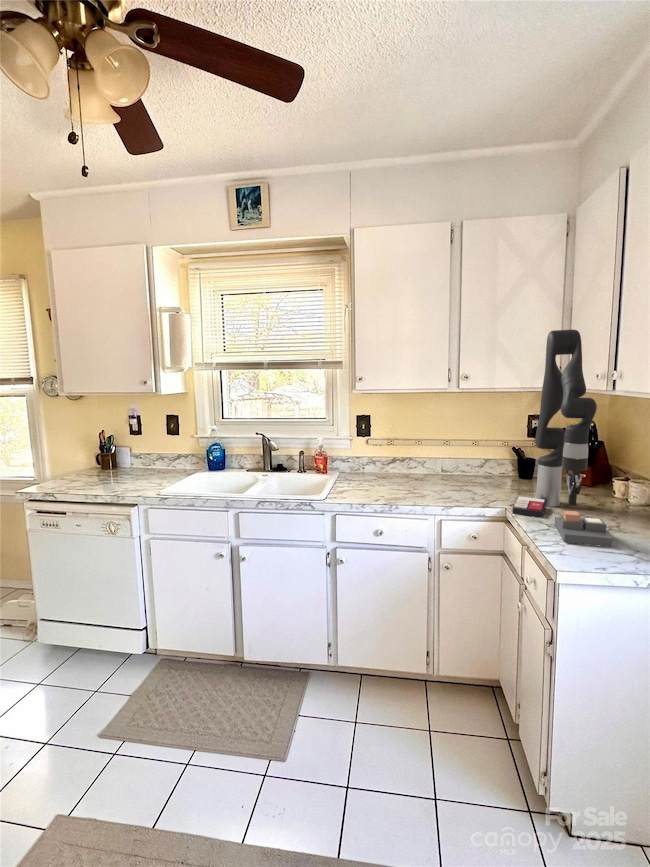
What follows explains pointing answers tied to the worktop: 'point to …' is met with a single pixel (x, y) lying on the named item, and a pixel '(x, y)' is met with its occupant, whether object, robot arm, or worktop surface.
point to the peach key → (571, 516)
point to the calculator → (529, 507)
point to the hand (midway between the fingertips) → (572, 504)
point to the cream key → (593, 520)
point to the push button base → (583, 532)
